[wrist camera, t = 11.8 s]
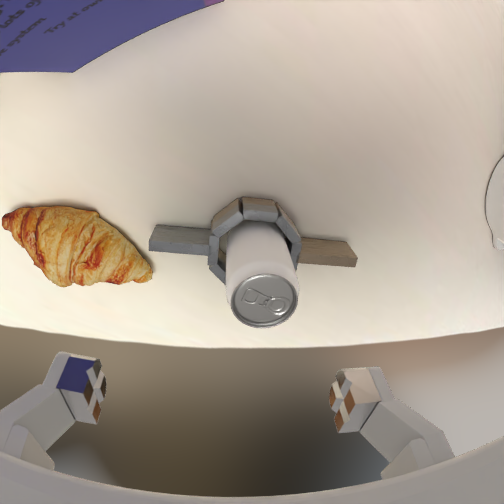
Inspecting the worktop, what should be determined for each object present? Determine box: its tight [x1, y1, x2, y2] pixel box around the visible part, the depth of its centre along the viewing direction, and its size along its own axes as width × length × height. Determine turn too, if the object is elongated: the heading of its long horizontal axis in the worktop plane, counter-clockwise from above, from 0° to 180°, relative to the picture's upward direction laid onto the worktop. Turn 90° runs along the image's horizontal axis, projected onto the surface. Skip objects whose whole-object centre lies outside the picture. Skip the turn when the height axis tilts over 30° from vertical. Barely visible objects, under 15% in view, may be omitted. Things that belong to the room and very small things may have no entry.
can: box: [226, 219, 299, 328], centre depth 32 cm, size 6×6×12 cm
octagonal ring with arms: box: [211, 197, 358, 267], centre depth 36 cm, size 16×10×4 cm, turn 83°
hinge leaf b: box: [149, 203, 302, 285], centre depth 35 cm, size 16×10×4 cm, turn 83°
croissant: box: [2, 206, 153, 287], centre depth 33 cm, size 21×10×8 cm, turn 67°
